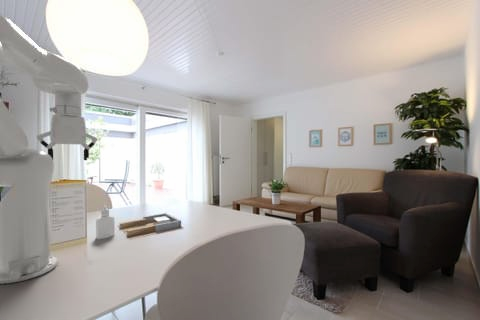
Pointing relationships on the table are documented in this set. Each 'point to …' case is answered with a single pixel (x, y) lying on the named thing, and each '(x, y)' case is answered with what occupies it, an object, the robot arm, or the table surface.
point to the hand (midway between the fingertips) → (69, 160)
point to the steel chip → (160, 220)
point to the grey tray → (164, 226)
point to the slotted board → (140, 228)
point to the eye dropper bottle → (104, 225)
